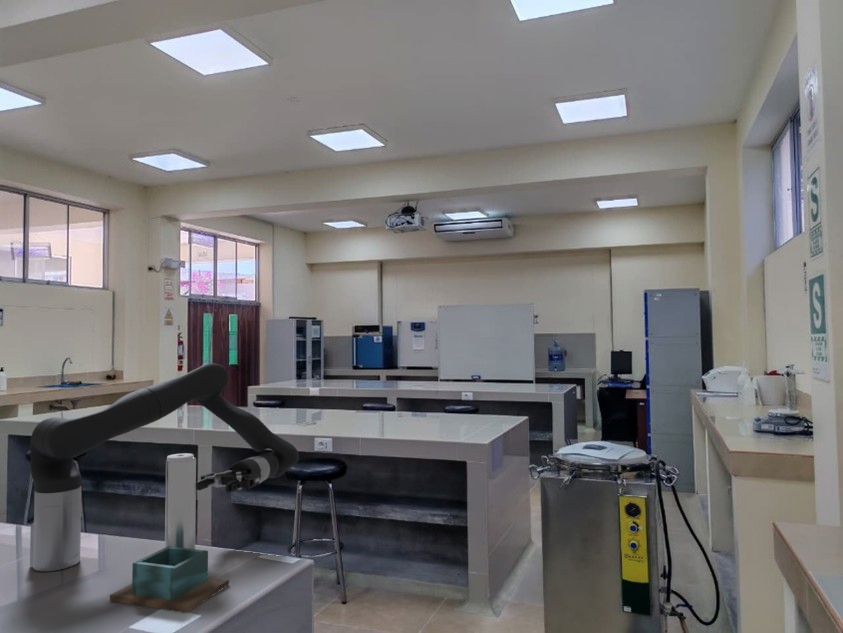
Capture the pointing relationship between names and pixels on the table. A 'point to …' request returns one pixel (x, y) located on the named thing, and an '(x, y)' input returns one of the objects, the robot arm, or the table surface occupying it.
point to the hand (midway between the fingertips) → (212, 487)
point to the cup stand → (170, 580)
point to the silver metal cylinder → (180, 501)
